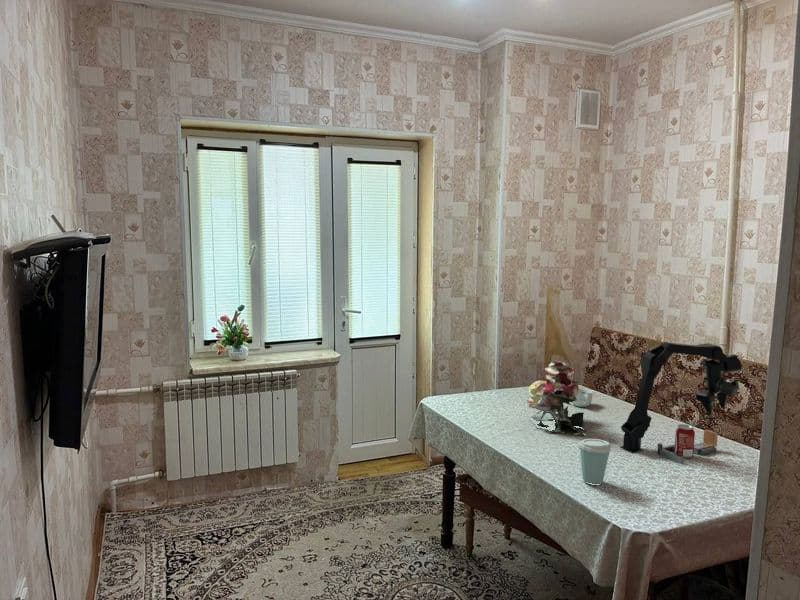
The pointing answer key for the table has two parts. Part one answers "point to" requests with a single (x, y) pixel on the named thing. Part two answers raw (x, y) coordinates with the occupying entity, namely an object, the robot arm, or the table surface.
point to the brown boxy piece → (707, 441)
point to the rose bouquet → (556, 397)
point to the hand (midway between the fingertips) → (716, 411)
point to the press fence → (669, 453)
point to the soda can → (684, 441)
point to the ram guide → (706, 450)
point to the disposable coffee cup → (594, 459)
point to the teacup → (583, 398)
